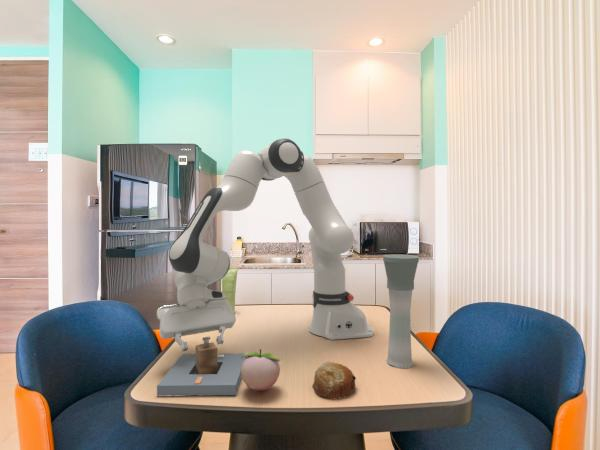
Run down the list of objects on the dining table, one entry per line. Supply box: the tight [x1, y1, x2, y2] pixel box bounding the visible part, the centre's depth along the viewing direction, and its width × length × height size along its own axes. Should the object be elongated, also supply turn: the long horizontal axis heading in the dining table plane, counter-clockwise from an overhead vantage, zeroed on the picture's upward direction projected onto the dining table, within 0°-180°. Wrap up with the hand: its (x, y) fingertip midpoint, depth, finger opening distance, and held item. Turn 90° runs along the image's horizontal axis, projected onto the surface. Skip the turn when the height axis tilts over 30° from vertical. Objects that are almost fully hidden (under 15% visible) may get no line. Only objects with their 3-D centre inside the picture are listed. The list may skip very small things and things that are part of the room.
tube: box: [220, 266, 239, 314], centre depth 145 cm, size 6×5×20 cm
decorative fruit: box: [241, 348, 281, 392], centre depth 81 cm, size 9×8×10 cm
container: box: [382, 253, 420, 369], centre depth 97 cm, size 10×10×30 cm
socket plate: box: [156, 352, 247, 396], centre depth 88 cm, size 18×18×3 cm
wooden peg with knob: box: [195, 336, 218, 374], centre depth 88 cm, size 4×4×10 cm
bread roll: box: [312, 361, 357, 399], centre depth 83 cm, size 10×10×8 cm
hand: (203, 346), depth 92 cm, fingers open, 8 cm apart
